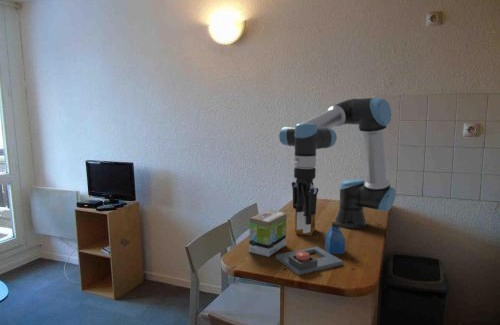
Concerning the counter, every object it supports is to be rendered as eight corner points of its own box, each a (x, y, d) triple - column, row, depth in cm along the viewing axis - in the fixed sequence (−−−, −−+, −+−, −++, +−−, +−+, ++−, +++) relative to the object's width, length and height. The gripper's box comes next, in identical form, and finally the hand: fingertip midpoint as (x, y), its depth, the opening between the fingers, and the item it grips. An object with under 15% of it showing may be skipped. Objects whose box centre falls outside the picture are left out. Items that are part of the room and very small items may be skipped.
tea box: (269, 257, 138) (270, 221, 136) (248, 252, 144) (248, 217, 142) (286, 245, 151) (287, 212, 149) (266, 240, 156) (266, 209, 154)
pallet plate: (317, 249, 146) (317, 240, 146) (342, 264, 132) (343, 254, 131) (275, 258, 138) (275, 248, 137) (298, 275, 123) (298, 264, 123)
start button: (304, 255, 132) (304, 250, 131) (312, 260, 127) (312, 255, 127) (293, 258, 129) (293, 253, 129) (300, 263, 125) (301, 258, 125)
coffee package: (291, 234, 164) (292, 189, 161) (296, 226, 176) (297, 183, 172) (312, 237, 161) (313, 190, 158) (316, 228, 173) (317, 185, 169)
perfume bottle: (325, 248, 148) (326, 220, 146) (339, 247, 149) (340, 220, 147) (329, 254, 142) (330, 225, 140) (344, 253, 142) (345, 225, 141)
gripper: (283, 164, 129) (282, 225, 132) (309, 171, 114) (308, 239, 118) (300, 163, 132) (299, 222, 136) (328, 169, 118) (325, 236, 121)
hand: (303, 230), depth 127 cm, fingers open, 3 cm apart
